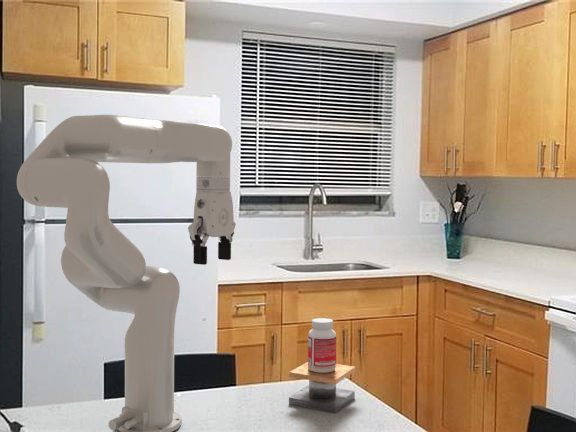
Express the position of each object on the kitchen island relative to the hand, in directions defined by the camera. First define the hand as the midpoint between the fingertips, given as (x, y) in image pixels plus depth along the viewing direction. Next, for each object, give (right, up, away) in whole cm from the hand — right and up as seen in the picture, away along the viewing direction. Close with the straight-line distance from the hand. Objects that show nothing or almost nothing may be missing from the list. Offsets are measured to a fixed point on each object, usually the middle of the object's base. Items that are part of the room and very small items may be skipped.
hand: (212, 261), depth 149 cm
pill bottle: (+24, -24, -3) cm, 34 cm away
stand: (+25, -31, -2) cm, 39 cm away
